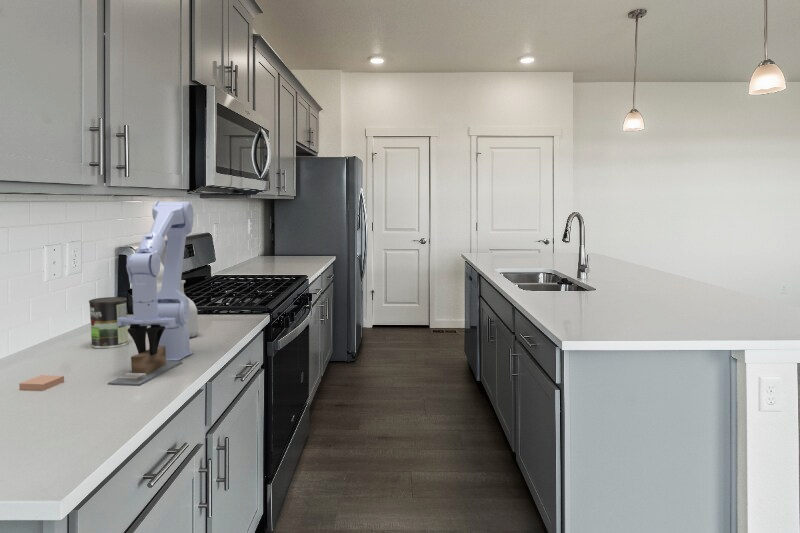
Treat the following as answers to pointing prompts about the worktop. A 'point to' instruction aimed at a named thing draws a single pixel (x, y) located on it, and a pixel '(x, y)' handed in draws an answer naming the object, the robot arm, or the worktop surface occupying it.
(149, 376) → the mat
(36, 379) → the tile
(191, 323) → the soap bottle
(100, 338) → the coffee can
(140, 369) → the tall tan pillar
